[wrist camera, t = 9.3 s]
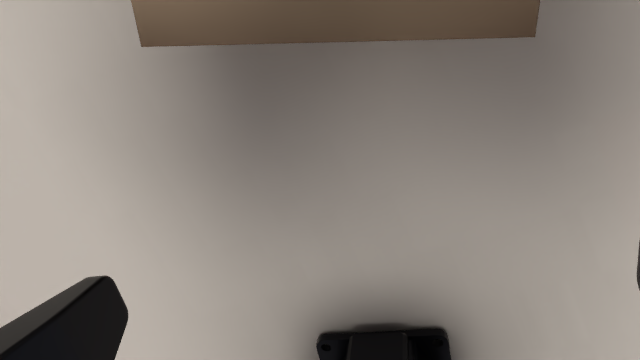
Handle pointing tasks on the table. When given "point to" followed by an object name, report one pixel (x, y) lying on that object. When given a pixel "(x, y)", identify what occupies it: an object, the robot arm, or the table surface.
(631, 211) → the table surface
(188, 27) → the walnut block
